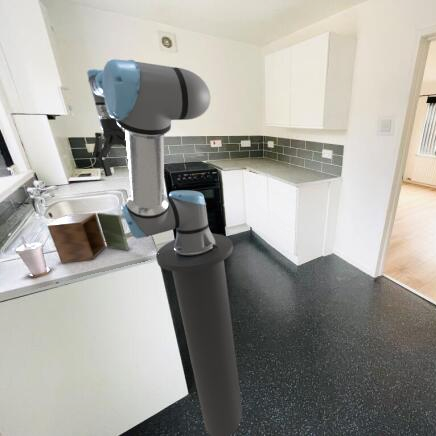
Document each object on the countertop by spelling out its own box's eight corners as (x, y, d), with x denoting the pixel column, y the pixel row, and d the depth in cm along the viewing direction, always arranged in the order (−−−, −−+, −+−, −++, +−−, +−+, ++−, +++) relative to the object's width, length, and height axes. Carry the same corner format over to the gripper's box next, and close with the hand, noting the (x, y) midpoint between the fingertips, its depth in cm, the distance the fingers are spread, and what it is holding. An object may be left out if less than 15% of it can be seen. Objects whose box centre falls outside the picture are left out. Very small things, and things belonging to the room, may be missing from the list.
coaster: (53, 268, 86) (53, 267, 86) (44, 276, 82) (43, 274, 81) (36, 270, 85) (36, 269, 85) (26, 278, 80) (25, 277, 80)
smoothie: (24, 272, 83) (7, 235, 78) (50, 264, 87) (35, 228, 82) (27, 279, 79) (10, 240, 74) (54, 270, 84) (39, 233, 79)
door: (124, 239, 108) (115, 207, 103) (143, 242, 105) (135, 209, 100) (106, 246, 101) (96, 213, 96) (126, 250, 98) (117, 215, 93)
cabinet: (106, 246, 102) (95, 212, 96) (92, 259, 92) (80, 222, 86) (78, 249, 99) (66, 215, 94) (61, 263, 89) (46, 225, 84)
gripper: (69, 118, 87) (87, 177, 95) (138, 117, 87) (151, 177, 94) (86, 119, 94) (102, 174, 102) (150, 118, 94) (161, 173, 101)
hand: (125, 175), depth 98 cm, fingers open, 13 cm apart
